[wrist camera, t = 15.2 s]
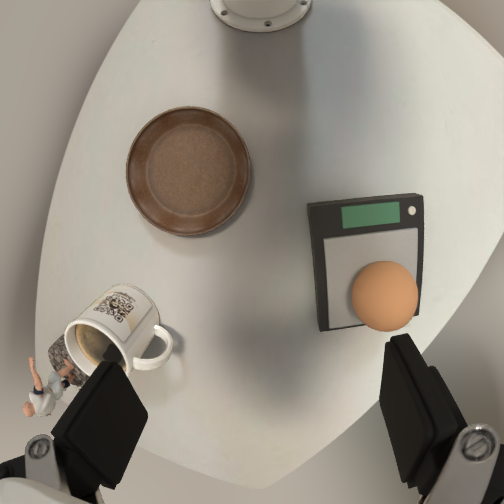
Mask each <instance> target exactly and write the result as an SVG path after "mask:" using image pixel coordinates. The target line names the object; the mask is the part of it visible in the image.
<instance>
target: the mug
mask: <svg viewBox="0 0 504 504" xmlns="http://www.w3.org/2000/svg"><path fill="white" fill-rule="evenodd" d="M155 335H156V336H158V337H160V338H162V339H163V340H164V341H165V343H166V345H167V349H166V350H165V352H164V353H163V354H161V355H160V356H158V357H156V358H153V359H140V357H141V356H142V354H143V353H144V351H145V350H146V348H147V346H148V345H149V343H150V342H151V340H152V339H153V337H154V336H155ZM64 339H65V345H66V348H67V351H68V353H69V355H70V356H71V358H72V360H73V361H74V362H75V364H76V365H77V366H78V367H79V368H80V369H81V370H82V371H83V372H84V373H85V374H87V375H88V376H89V377H90V376H91V374H92V373H93V371H94V370H95V369H96V367H97V366H98V365H99V363H100V362H101V361H116V362H117V363H118V364H119V365H120V366H121V367H122V368H123V370H124V372H125V374H126V376H127V377H129V375H130V373H131V372H132V370H133V369H134V368H135V369H139V370H152V369H156V368H159V367H161V366H162V365H164V364H165V363H166V362H167V361H168V360H169V358H170V356H171V354H172V347H173V340H172V337H171V335H170V333H169V332H168V331H167V330H165V329H164V328H163V327H161V326H159V314H158V311H157V308H156V306H155V305H154V303H153V301H152V300H151V299H150V298H149V296H147V295H146V294H145V293H144V292H143V291H142V290H140V289H138V288H137V287H134V286H132V285H128V284H117V285H114V286H112V287H110V288H109V289H108V290H107V291H106V292H104V293H103V294H102V295H101V296H100V297H99V298H98V299H96V300H95V301H94V302H93V303H92V304H91V305H90V306H89V307H87V308H86V309H85V310H84V311H83V312H82V313H81V314H80V315H79V316H78V317H76V318H75V319H74V320H73V321H72V322H71V323H70V324H69V325H68V326H67V328H66V330H65V335H64Z"/></svg>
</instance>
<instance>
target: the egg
mask: <svg viewBox="0 0 504 504" xmlns="http://www.w3.org/2000/svg"><path fill="white" fill-rule="evenodd" d="M351 297H352V304H353V307H354V311H355V312H356V314H357V316H358V317H359V319H360V320H361V321H362V322H363V323H364V324H366V325H367V326H368V327H370V328H372V329H375V330H378V331H384V332H388V331H394V330H398V329H400V328H402V327H403V326H405V325H406V324H407V323H408V322H409V321H410V320H411V319H412V317H413V315H414V313H415V311H416V308H417V304H418V288H417V285H416V282H415V280H414V278H413V276H412V275H411V274H410V272H409V271H408V270H407V269H406V268H404V267H403V266H402V265H400V264H399V263H395V262H392V261H378V262H374V263H372V264H370V265H368V266H367V267H366V268H364V269H363V270H362V271H361V272H360V273H359V274H358V276H357V278H356V279H355V281H354V284H353V288H352V295H351Z"/></svg>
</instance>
